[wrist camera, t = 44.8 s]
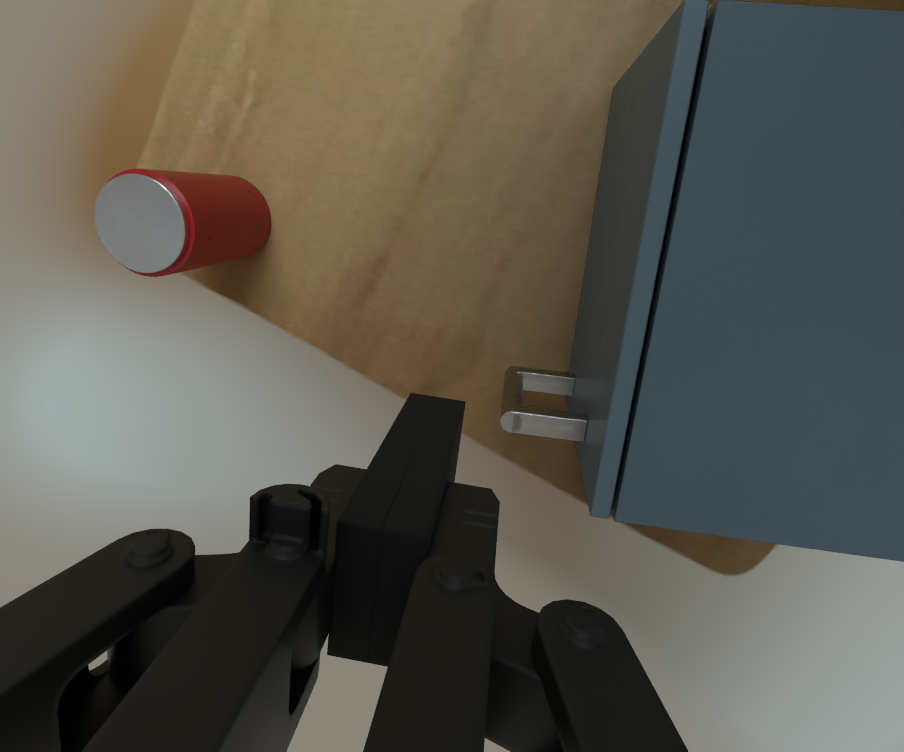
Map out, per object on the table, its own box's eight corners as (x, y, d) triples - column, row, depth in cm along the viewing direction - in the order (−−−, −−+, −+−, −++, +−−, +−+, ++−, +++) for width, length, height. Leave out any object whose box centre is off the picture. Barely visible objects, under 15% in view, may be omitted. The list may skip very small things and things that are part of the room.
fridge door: (502, 389, 49) (490, 503, 31) (540, 81, 42) (553, -10, 24) (576, 398, 48) (609, 519, 30) (627, 87, 41) (710, -1, 23)
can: (259, 168, 46) (170, 158, 35) (279, 251, 48) (202, 269, 36) (184, 183, 47) (74, 179, 36) (207, 264, 49) (109, 285, 37)
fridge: (579, 397, 49) (614, 521, 30) (630, 88, 41) (718, -1, 23) (764, 420, 47) (921, 564, 29) (850, 105, 40) (1132, 24, 22)
